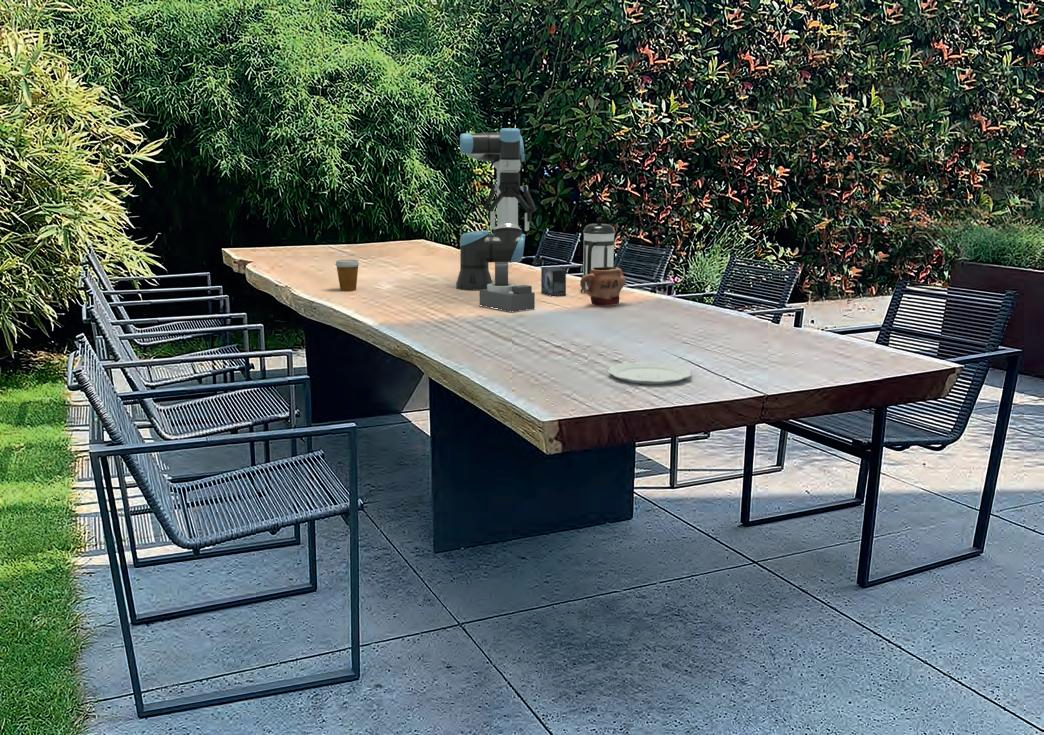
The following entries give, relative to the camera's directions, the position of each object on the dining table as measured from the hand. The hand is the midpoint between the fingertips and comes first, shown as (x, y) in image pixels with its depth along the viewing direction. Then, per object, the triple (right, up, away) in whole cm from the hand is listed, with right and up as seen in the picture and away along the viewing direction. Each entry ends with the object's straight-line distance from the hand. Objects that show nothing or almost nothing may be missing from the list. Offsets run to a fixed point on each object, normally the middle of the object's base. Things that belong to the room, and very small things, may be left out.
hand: (509, 229), depth 350 cm
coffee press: (+35, -21, +29) cm, 50 cm away
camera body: (-1, -30, -8) cm, 31 cm away
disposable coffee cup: (-66, -20, +32) cm, 76 cm away
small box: (+17, -23, +24) cm, 37 cm away
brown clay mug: (+34, -28, -2) cm, 45 cm away
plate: (+37, -54, -112) cm, 129 cm away
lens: (-3, -23, -8) cm, 24 cm away
